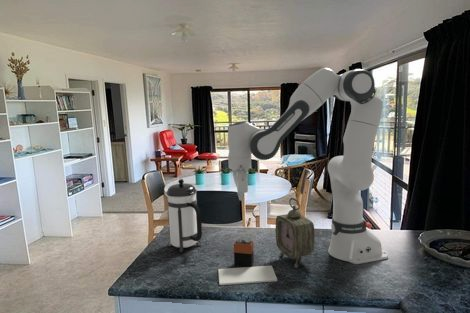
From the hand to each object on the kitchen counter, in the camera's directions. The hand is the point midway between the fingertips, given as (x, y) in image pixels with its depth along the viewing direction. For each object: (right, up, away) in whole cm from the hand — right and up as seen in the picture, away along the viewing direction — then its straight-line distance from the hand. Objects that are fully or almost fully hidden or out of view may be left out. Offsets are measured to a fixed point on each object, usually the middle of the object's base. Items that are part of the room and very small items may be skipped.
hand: (240, 198), depth 128 cm
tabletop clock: (+21, -24, -2) cm, 32 cm away
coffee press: (-23, -23, +14) cm, 36 cm away
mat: (+2, -26, -12) cm, 29 cm away
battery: (+1, -25, -4) cm, 26 cm away
